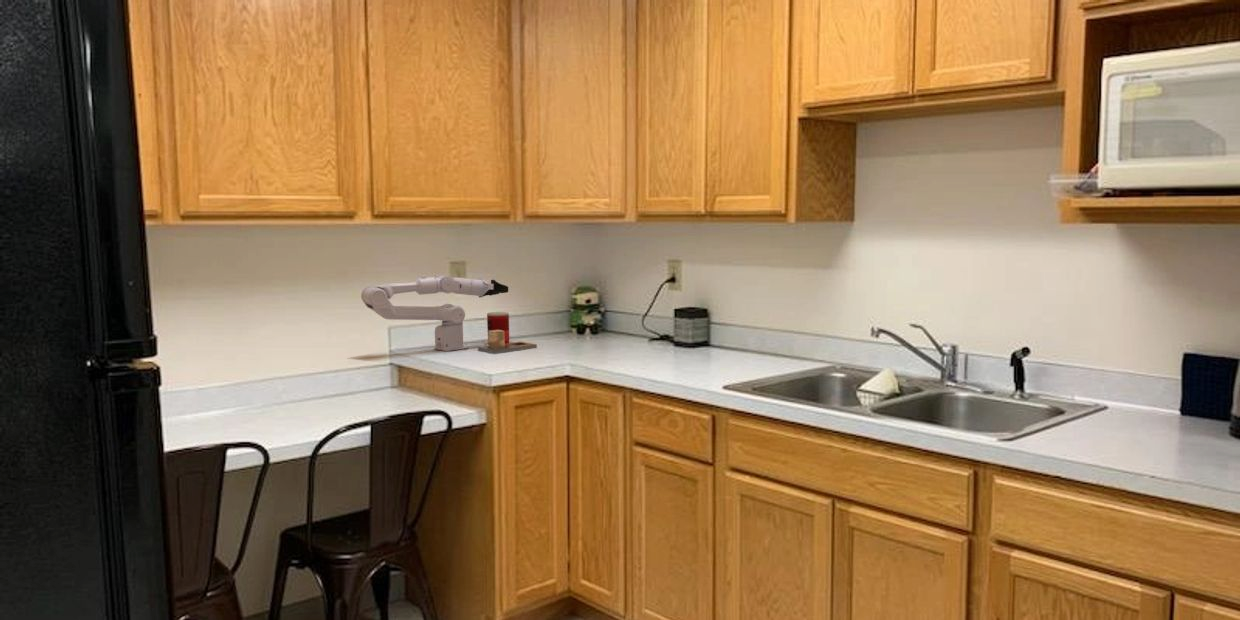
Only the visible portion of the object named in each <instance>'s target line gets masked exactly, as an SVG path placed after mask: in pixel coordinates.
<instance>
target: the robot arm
mask: <svg viewBox="0 0 1240 620" xmlns="http://www.w3.org/2000/svg"><path fill="white" fill-rule="evenodd" d="M426 276H427V275H422V276H420V277H418V278H417V279H416V280H415V281H413V282H396V283H395V282H394V283H391V282H390V283H383V284H382V283H381V284H377V285H375V286H372V285H370V286H366V287H365V288H364V289H363V290H362V292H361V294H360V298H361V300H362V302H363V303H364V305H365V306H366V307H367V308H369V309H370V310H371V311H373V312H374V313H375V314H377V315H379V316H380V317H382V318H383V319H385V320H399V321H400V320H401V321H402V320H406V321H407V320H409V321H411V320H412V321H414V320H415V321H420V320H421V321H441V324H440V325H437V326H436V327H435V329H434V344H435V347H434V349H435V350H438V351H443V352H449V351H455V350H456V351H457V350H464V349H468V348H469V346H466V345H464V325H463V324H464V323H463V321H464V320H465V318H466V311H465V309H464V308H463V307H462V306H459V305H453V304H451V303H444V304H443V305H440V306H439V305H436V306H418V305H417V306H416V305H411V306H410V305H404V306H403V305H393V304H392V303H391V301H390V299H392V298H393V296H394V295H397V294H403V293H413V292H416V293H417V294H418V295H419V296H420V295H421V296H422V295H430V294H431V295H432V294H438V293H446V294H451V293H454V294H457V295H468V296H477V297H479V298H483V297H485V296H495V295H499V294H506V293H508V292H509V286H508V285H505V284H502V283H500V282H498V281H496V280H495V279H491V280H490V283H488V282H487V281H486V280H484V276H480V277H479V278H478V279H473V278H464V277H454V276H453V277H452V276H448V275H447V276H445V275H435V276H431V277H429V276H427V277H426Z"/></svg>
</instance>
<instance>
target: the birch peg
mask: <svg viewBox="0 0 1240 620" xmlns="http://www.w3.org/2000/svg"><path fill="white" fill-rule="evenodd" d="M488 339H489V342H488V346H489V348H492V349H498V348H505V338H504V331H502V330H492V331H488V330H487V340H488Z"/></svg>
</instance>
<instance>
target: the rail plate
mask: <svg viewBox="0 0 1240 620" xmlns="http://www.w3.org/2000/svg"><path fill="white" fill-rule="evenodd" d="M537 348H538V345H537V343H531V342H525V341H521V340H519V341H514V342H508V343H505V348H498V349H492V348H489V345H483V346H478V347H477V351H479V352H483V353H488V354H494V355H497V354H503V352H504V353H510V351H511V352H517V351H523V350H525V351H526V350H531V349H537Z"/></svg>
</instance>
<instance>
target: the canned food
mask: <svg viewBox="0 0 1240 620" xmlns="http://www.w3.org/2000/svg"><path fill="white" fill-rule="evenodd" d="M509 315H510V313H509V312H508V311H507V312H506V311H492V312H491V311H490V312H488V313H486V318H487V319H486V322H487V328H486V329H487V332H488V331H492V330H502V331H504V338H505V343H510V316H509ZM487 342H488V343H489V339H488V338H487Z"/></svg>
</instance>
